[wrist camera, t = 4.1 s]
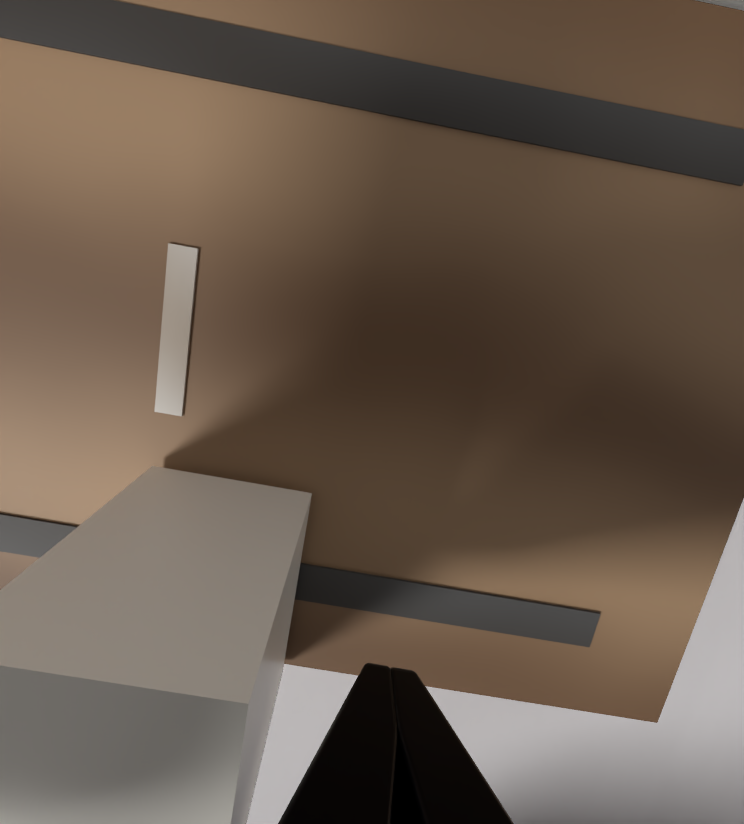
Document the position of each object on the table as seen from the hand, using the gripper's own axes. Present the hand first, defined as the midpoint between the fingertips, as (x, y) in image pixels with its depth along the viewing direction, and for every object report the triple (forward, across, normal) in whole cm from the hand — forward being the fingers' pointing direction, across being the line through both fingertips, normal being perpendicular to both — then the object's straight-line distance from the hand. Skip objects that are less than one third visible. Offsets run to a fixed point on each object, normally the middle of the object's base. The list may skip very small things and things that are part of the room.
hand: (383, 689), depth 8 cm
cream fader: (+2, +3, 0) cm, 4 cm away
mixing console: (+6, +5, -4) cm, 8 cm away
